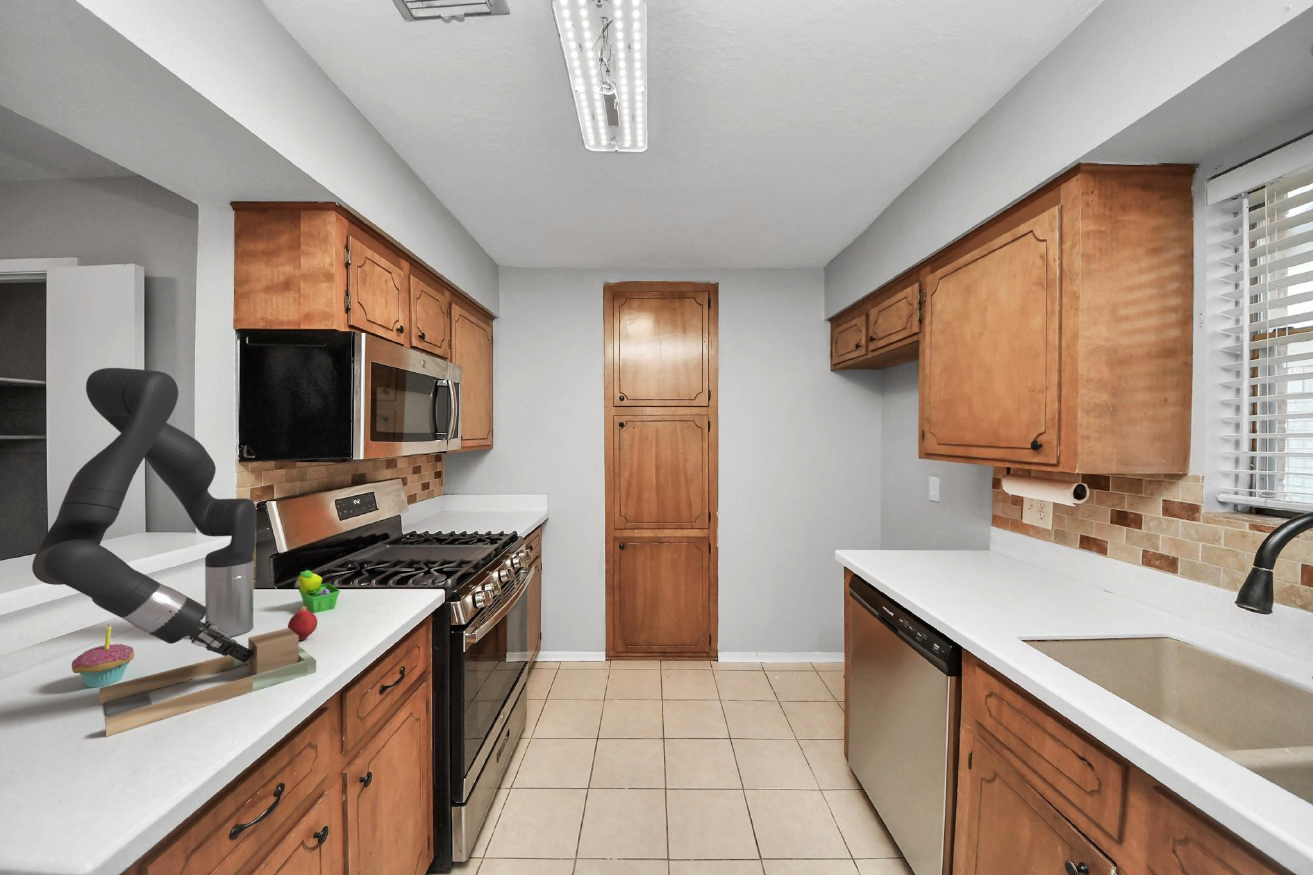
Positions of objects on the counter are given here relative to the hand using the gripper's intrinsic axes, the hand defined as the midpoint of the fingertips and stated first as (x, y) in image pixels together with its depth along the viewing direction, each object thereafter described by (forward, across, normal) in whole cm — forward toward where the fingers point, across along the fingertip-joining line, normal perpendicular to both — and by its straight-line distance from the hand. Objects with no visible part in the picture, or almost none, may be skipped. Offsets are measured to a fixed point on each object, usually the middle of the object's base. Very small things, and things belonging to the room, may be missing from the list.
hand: (248, 656), depth 103 cm
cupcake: (-11, +19, +16) cm, 27 cm away
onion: (+12, +13, -6) cm, 19 cm away
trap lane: (-2, 0, +7) cm, 7 cm away
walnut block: (+6, 0, 0) cm, 6 cm away
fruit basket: (+19, +37, -13) cm, 44 cm away
